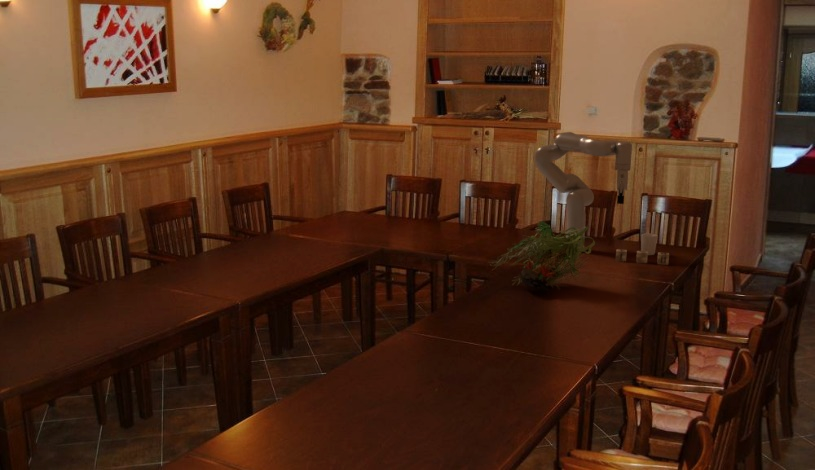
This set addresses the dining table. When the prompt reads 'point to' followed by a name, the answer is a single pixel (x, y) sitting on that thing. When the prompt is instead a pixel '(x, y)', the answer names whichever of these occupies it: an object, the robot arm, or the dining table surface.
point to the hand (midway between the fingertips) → (620, 203)
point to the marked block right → (663, 258)
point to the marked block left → (621, 255)
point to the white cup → (648, 243)
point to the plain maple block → (642, 256)
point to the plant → (549, 256)
